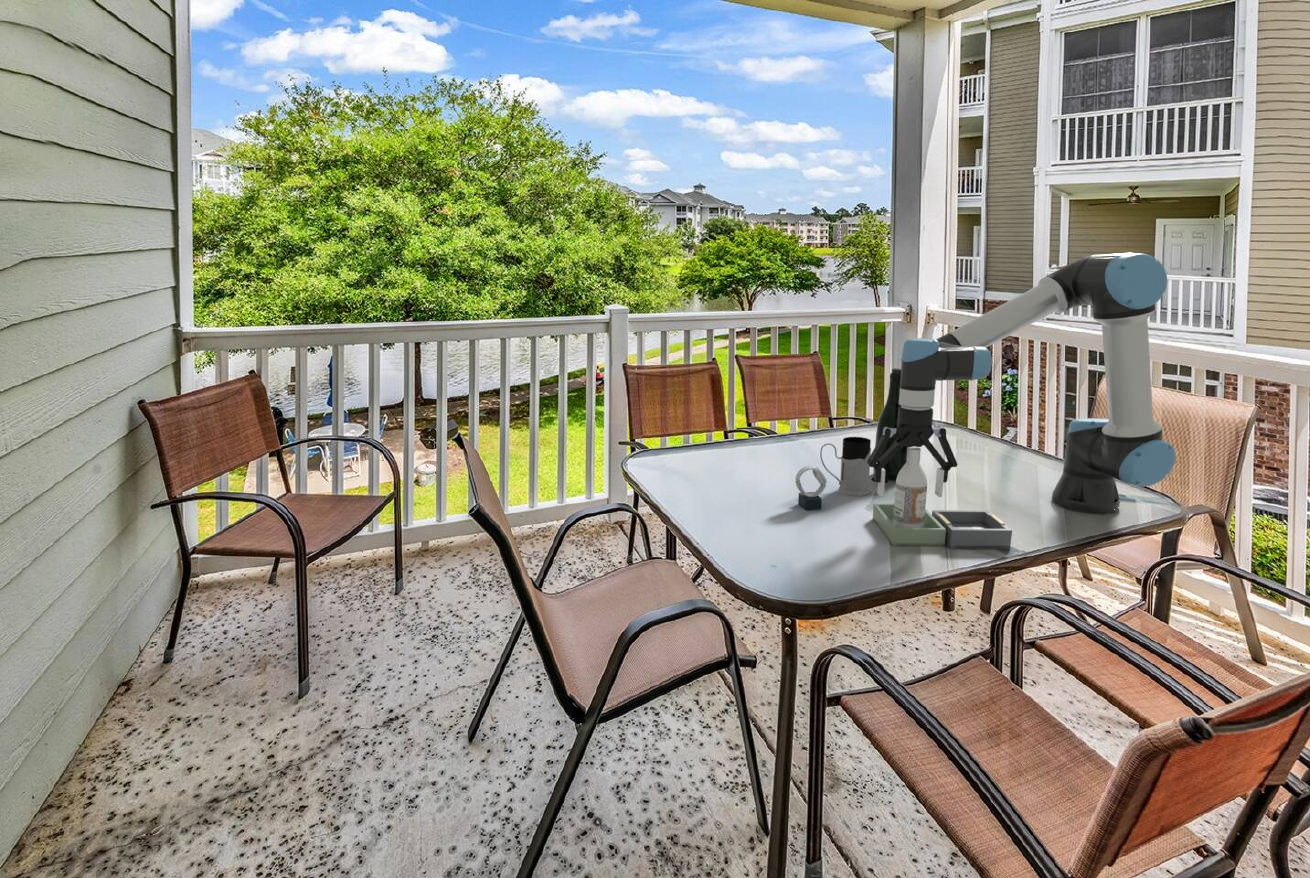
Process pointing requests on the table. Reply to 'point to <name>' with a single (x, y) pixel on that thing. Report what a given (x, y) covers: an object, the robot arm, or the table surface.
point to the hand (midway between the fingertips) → (909, 495)
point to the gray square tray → (974, 530)
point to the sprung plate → (969, 526)
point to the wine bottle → (890, 420)
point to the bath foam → (910, 493)
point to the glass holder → (853, 466)
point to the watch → (811, 498)
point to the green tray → (908, 529)
